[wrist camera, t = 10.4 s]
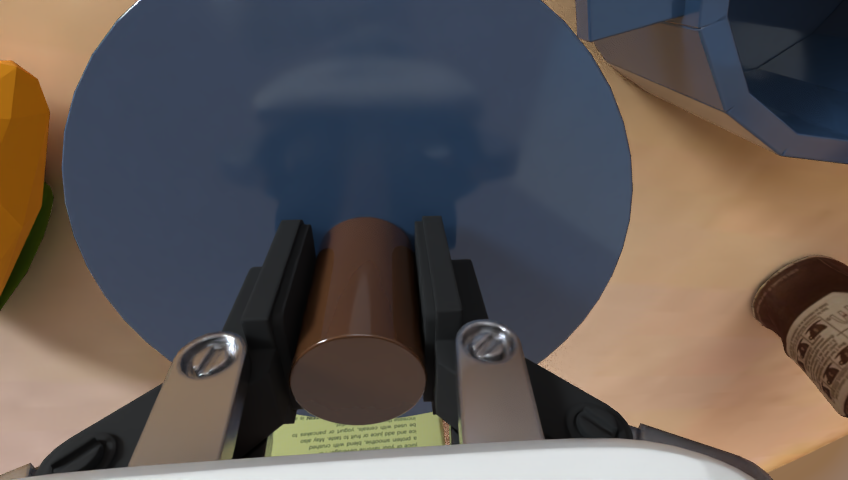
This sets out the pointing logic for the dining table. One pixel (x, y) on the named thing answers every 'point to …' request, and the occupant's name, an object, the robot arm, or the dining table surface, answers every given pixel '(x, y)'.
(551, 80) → the pot lid
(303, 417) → the protein box
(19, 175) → the corn
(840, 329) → the coffee cup
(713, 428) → the dining table surface
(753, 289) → the dining table surface
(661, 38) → the pot
